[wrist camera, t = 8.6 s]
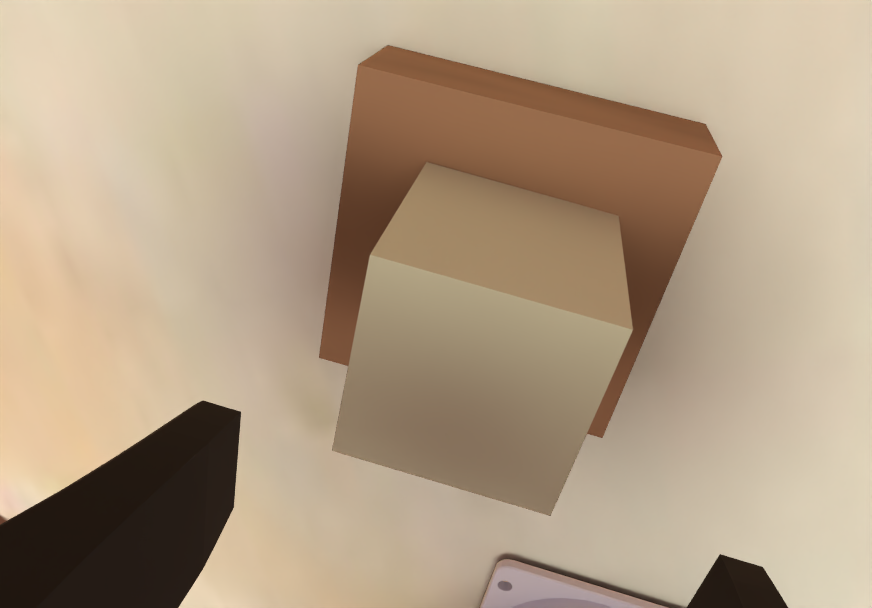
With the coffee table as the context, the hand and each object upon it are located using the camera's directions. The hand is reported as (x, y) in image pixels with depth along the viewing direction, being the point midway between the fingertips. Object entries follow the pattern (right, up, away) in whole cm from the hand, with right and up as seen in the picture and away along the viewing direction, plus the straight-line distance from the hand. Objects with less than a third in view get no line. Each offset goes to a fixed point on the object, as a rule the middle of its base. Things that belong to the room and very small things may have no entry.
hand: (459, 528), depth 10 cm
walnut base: (+2, +6, +9) cm, 11 cm away
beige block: (+1, +4, +7) cm, 8 cm away
